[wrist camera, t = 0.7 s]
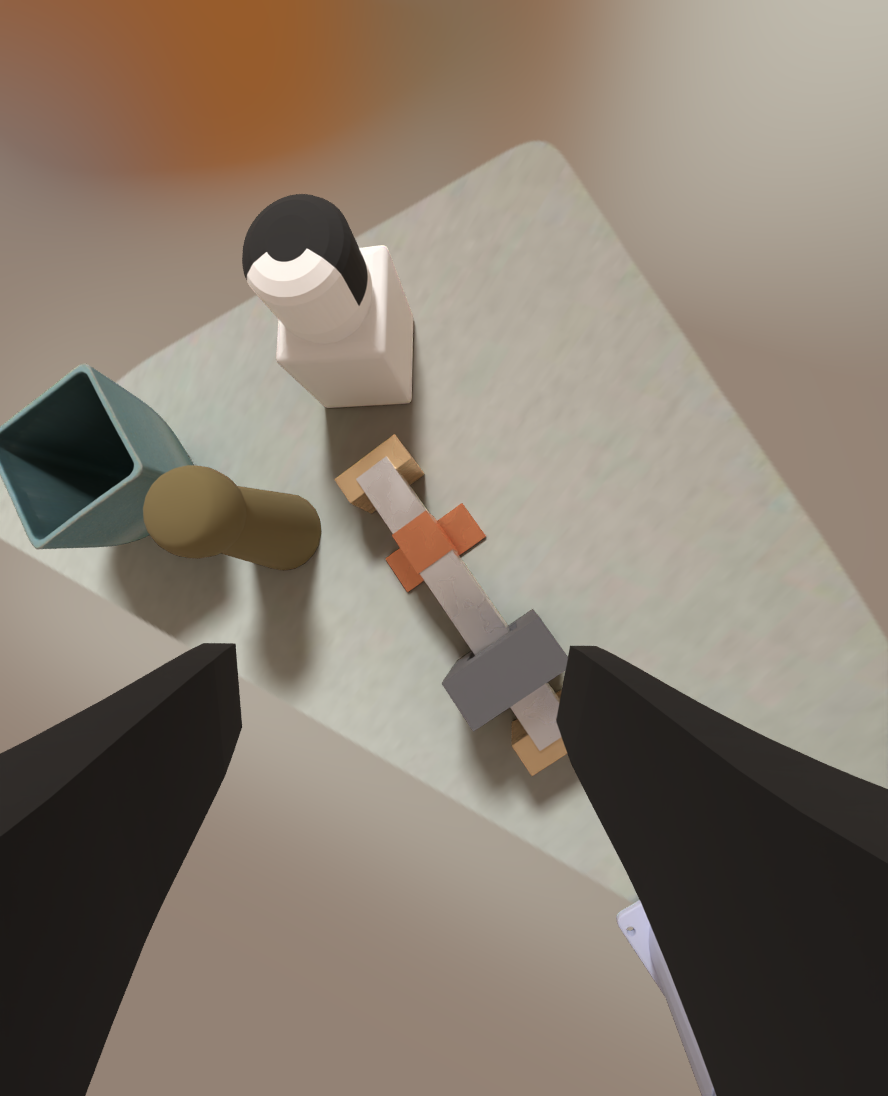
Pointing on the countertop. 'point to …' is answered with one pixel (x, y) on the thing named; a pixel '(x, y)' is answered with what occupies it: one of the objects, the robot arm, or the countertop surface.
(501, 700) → the collar
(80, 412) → the flower pot
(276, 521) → the brown pawn figure
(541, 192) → the countertop surface
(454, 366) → the countertop surface
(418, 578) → the rail
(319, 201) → the medicine bottle
